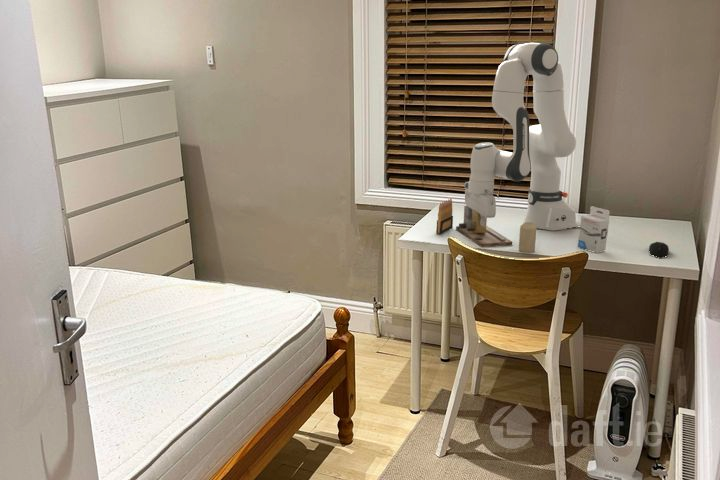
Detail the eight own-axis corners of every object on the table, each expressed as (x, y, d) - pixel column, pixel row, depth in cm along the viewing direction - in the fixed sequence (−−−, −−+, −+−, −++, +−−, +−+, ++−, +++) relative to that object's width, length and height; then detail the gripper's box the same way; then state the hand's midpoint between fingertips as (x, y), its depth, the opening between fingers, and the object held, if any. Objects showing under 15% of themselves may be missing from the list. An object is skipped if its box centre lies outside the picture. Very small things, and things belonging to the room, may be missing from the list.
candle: (524, 253, 237) (527, 225, 234) (515, 249, 242) (517, 221, 239) (537, 251, 239) (540, 224, 236) (528, 247, 244) (530, 220, 241)
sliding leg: (481, 229, 260) (482, 209, 257) (485, 232, 256) (487, 212, 254) (465, 230, 258) (466, 210, 256) (469, 233, 254) (470, 212, 252)
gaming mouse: (648, 259, 232) (649, 248, 231) (648, 248, 245) (650, 237, 244) (668, 262, 230) (670, 251, 229) (668, 250, 243) (669, 239, 242)
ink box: (576, 247, 244) (581, 207, 240) (586, 245, 247) (590, 205, 243) (596, 253, 237) (601, 212, 233) (605, 251, 240) (610, 210, 236)
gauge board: (484, 227, 269) (486, 204, 266) (512, 244, 246) (514, 220, 244) (455, 229, 266) (457, 206, 263) (481, 247, 244) (482, 222, 241)
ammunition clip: (440, 234, 259) (441, 203, 256) (436, 233, 260) (437, 202, 256) (452, 228, 268) (454, 198, 264) (448, 227, 269) (449, 197, 265)
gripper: (501, 193, 244) (498, 230, 247) (478, 181, 263) (476, 216, 266) (485, 193, 242) (482, 231, 246) (462, 182, 261) (460, 217, 265)
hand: (479, 223), depth 256 cm, fingers closed on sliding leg, 4 cm apart
